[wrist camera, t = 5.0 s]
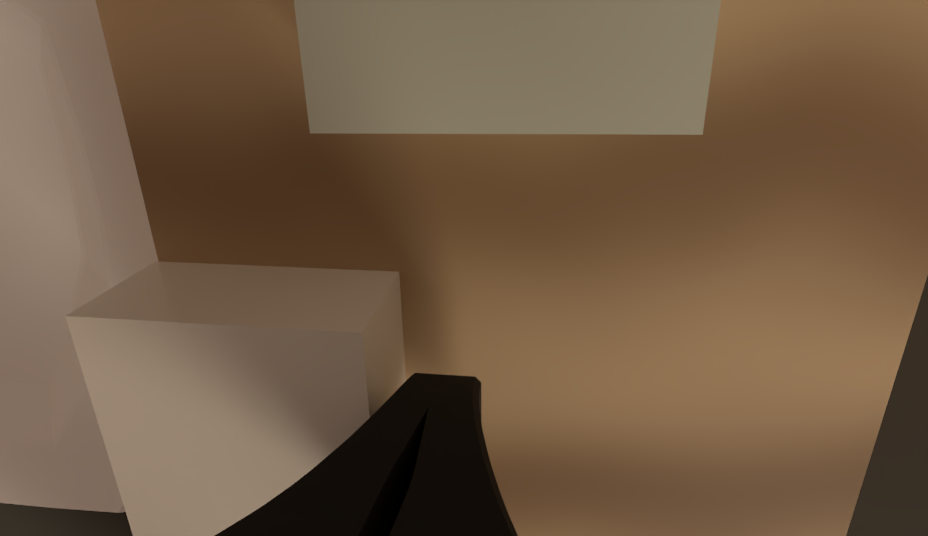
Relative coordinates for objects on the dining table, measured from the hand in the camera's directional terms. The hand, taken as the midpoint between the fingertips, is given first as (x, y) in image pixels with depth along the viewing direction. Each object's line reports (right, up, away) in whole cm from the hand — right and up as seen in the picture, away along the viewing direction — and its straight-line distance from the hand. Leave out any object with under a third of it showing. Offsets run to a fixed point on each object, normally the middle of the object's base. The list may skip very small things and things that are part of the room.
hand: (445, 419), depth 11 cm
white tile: (-3, +1, +1) cm, 4 cm away
